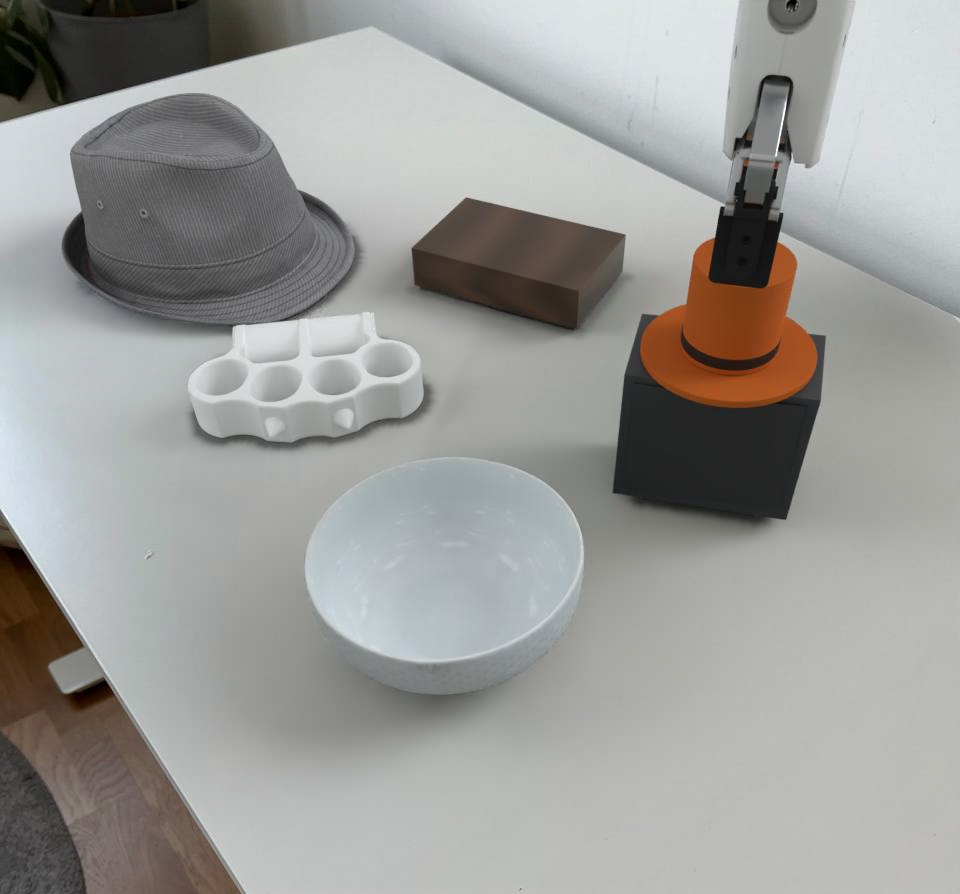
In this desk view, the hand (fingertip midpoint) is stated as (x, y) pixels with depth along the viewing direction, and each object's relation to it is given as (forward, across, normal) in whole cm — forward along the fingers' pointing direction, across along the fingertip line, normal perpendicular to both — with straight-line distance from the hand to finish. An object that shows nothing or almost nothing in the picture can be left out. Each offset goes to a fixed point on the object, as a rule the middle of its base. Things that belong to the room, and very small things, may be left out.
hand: (745, 238), depth 56 cm
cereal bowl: (+19, -17, +14) cm, 29 cm away
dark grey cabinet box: (+19, 0, 0) cm, 19 cm away
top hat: (+8, 0, 0) cm, 8 cm away
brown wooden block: (+19, +24, +19) cm, 36 cm away
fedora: (+19, +22, +48) cm, 56 cm away
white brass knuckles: (+19, +4, +32) cm, 37 cm away
